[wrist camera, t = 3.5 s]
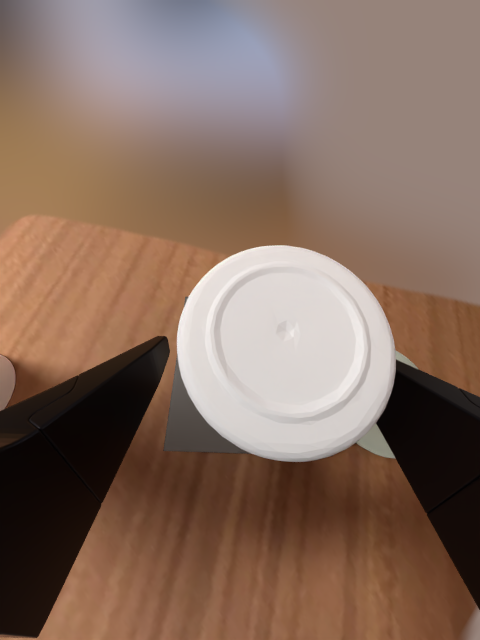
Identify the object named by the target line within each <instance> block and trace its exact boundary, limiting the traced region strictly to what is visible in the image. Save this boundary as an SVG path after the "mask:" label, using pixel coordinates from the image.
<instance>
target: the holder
mask: <svg viewBox="0 0 480 640" xmlns="http://www.w3.org/2000/svg"><path fill="white" fill-rule="evenodd" d="M187 299H188V297H185V304H186V301H187ZM185 304H184V307H185ZM163 451H184V452H216V453H247V454H252V453H249V452H247V451H245V450H242V449H241V448H239V447H238V446H236V445H234V444H233V443H231V442H230V441H228V440H227V439H225V438H224V437H222V436H221V435H220V434H219V433H218V432H217V431H216V430H215V429H213V428H212V427H211V426H210V425H209V424H208V423H207V422H206V420H205V419H204V418H203V416H202V415H201V414H200V413H199V411H198V410H197V408H196V407H195V405H194V403H193V402H192V400H191V398H190V396H189V395H188V392H187V390H186V387H185V385H184V383H183V380H182V377H181V373H180V368H179V364H178V354H177V360H176V367H175V374H174V381H173V388H172V395H171V402H170V409H169V416H168V423H167V430H166V436H165V443H164V450H163ZM332 456H333V455H332Z"/></svg>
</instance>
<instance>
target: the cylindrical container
mask: <svg viewBox="0 0 480 640" xmlns="http://www.w3.org/2000/svg"><path fill="white" fill-rule="evenodd" d="M14 387H15V370H14V367H13V365H12V363H11V362H10V361H9V360H8V359H7V358H6V357H5V356H3V355H1V354H0V411H1V410H3V409H5V407H6V406H7V404H8V402H9V400H10V398H11V396H12V393H13V391H14Z"/></svg>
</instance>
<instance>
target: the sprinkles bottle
mask: <svg viewBox="0 0 480 640" xmlns="http://www.w3.org/2000/svg"><path fill="white" fill-rule="evenodd" d="M177 354H178V364H179V368H180V373H181V377H182V380H183V383H184V385H185V387H186V390H187V392H188V395H189V396H190V398H191V400H192V402H193V403H194V405H195V407H196V408H197V410H198V411H199V413H200V414H201V415H202V416H203V418H204V419H205V420H206V422H207V423H208V424H209V425H210V426H211V427H212V428H213V429H215V430H216V431H217V432H218V433H219V434H220V435H221V436H222V437H224V438H225V439H227V440H228V441H230V442H231V443H233V444H234V445H236V446H238V447H239V448H241V449H242V450H245V451H247V452H249V453H252V454H255V455H257V456H260V457H263V458H267V459H272V460H278V461H287V462H306V461H313V460H319V459H322V458H326V457H329V456H332V455H334V454H336V453H339V452H341V451H343V450H345V449H347V448H349V447H350V446H352V445H353V444H355V443H356V442H357V441H358V440H360V439H361V438H362V437H363V436H364V435H366V434H367V432H368V431H369V430H370V429H371V428H372V427H373V426H374V425H375V424H376V422H377V421H378V419H379V418H380V416H381V415H382V413H383V412H384V410H385V408H386V405H387V403H388V400H389V397H390V395H391V391H392V388H393V385H394V379H395V372H396V353H395V345H394V340H393V336H392V332H391V329H390V326H389V323H388V321H387V318H386V316H385V314H384V312H383V309H382V307H381V306H380V304H379V302H378V301H377V299H376V298H375V296H374V295H373V294H372V292H371V291H370V290H369V289H368V287H367V286H366V285H365V284H364V283H363V282H362V281H361V280H360V279H359V278H358V277H357V276H356V275H354V274H353V273H352V272H351V271H350V270H348V269H347V268H345V267H344V266H342V265H341V264H339V263H338V262H336V261H334V260H332V259H331V258H329V257H327V256H324V255H322V254H319V253H317V252H314V251H311V250H308V249H304V248H299V247H292V246H280V245H278V246H263V247H257V248H252V249H248V250H245V251H242V252H240V253H237V254H235V255H232V256H230V257H229V258H227V259H225V260H224V261H222V262H220V263H219V264H217V265H216V266H215V267H214V268H212V269H211V270H210V271H209V272H208V273H207V274H206V275H205V276H204V277H203V278H202V279H201V280H200V281H199V283H198V284H197V285H196V286H195V288H194V289H193V291H192V293H191V294H190V296H189V297H188V299H187V301H186V304H185V307H184V309H183V312H182V315H181V317H180V322H179V327H178V333H177Z"/></svg>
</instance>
